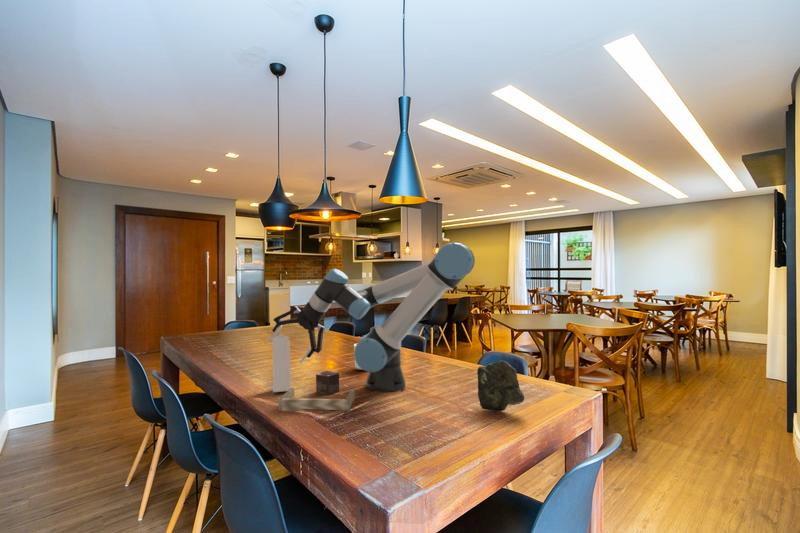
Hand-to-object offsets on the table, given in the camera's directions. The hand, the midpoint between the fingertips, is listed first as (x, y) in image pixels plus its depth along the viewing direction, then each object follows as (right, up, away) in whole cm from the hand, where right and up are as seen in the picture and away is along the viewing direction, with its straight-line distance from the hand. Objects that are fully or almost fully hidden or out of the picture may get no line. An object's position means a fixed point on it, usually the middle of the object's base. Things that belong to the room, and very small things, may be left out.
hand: (286, 351), depth 143 cm
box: (+16, -15, -4) cm, 22 cm away
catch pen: (+16, -14, -16) cm, 27 cm away
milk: (0, -14, -5) cm, 15 cm away
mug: (+27, -14, +31) cm, 44 cm away
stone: (+75, -14, -21) cm, 79 cm away
